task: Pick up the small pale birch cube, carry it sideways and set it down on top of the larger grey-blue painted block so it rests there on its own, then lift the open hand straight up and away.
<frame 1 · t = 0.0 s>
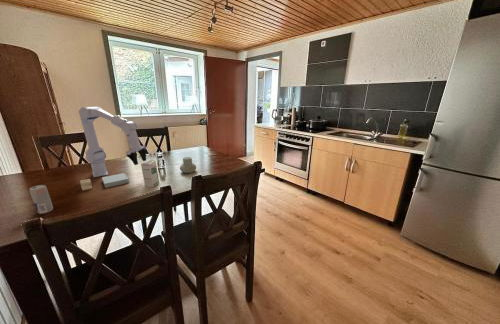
hand: (140, 162, 127), 11 cm above the table, tool pointing down, fingers open, 7 cm apart
birch cube: (87, 188, 116), on the table
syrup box: (152, 185, 121), on the table
grey-blue block: (116, 182, 125), on the table
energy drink: (45, 211, 93), on the table
air freshener: (188, 172, 142), on the table
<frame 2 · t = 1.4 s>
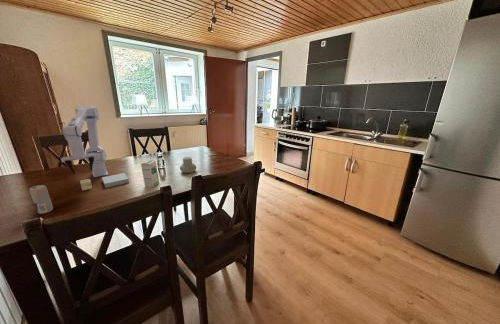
hand: (83, 171, 113), 10 cm above the table, tool pointing down, fingers open, 7 cm apart
nothing on the table moved.
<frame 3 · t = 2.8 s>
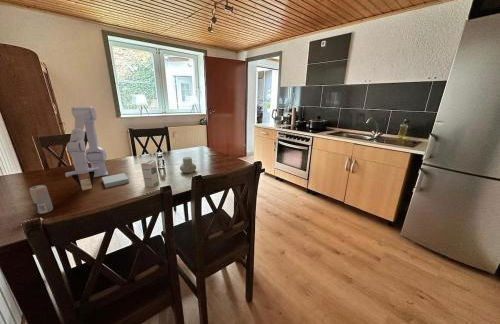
hand: (86, 185, 116), 2 cm above the table, tool pointing down, fingers closed on birch cube, 4 cm apart
birch cube: (87, 188, 116), on the table, touching gripper
everything else where it was.
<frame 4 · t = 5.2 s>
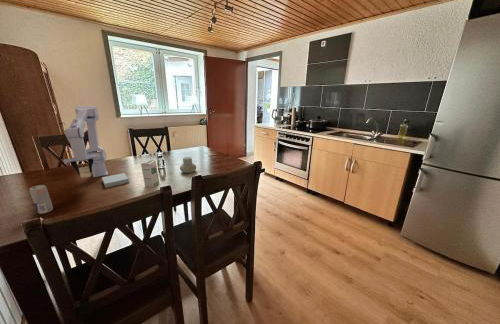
hand: (85, 173, 114), 9 cm above the table, tool pointing down, fingers closed on birch cube, 4 cm apart
birch cube: (85, 175, 114), point 7 cm above the table, touching gripper
everything else where it was.
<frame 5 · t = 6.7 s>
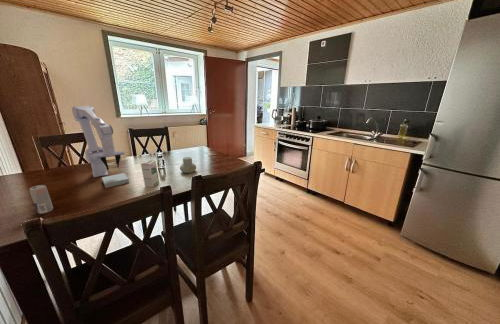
hand: (112, 168, 122), 9 cm above the table, tool pointing down, fingers closed on birch cube, 4 cm apart
birch cube: (113, 170, 122), point 7 cm above the table, touching gripper
everything else where it was.
when the fingers open (6 cm above the table, at t = 7.8 s): birch cube drops 2 cm, point 2 cm above the table.
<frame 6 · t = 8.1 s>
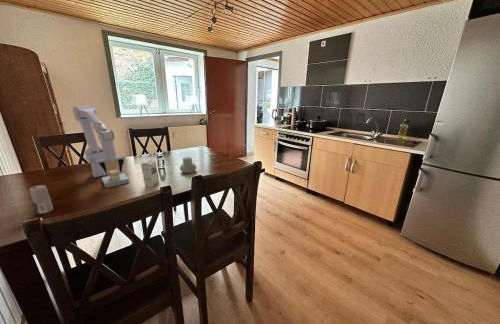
hand: (113, 172, 123), 6 cm above the table, tool pointing down, fingers open, 7 cm apart
birch cube: (115, 178, 124), point 2 cm above the table
everything else where it was.
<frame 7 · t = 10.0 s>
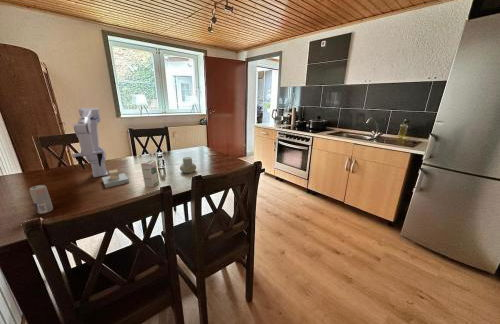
hand: (92, 167, 120), 10 cm above the table, tool pointing down, fingers open, 7 cm apart
nothing on the table moved.
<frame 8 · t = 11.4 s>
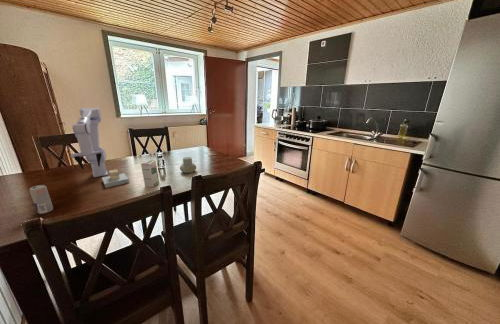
hand: (91, 167, 120), 10 cm above the table, tool pointing down, fingers open, 7 cm apart
birch cube: (114, 177, 124), point 2 cm above the table, touching grey-blue block
grey-blue block: (116, 182, 125), on the table, touching birch cube
everything else where it was.
at the end: birch cube inside the target area on the grey-blue block (0.5 cm from its centre), point 3.0 cm above the grey-blue block's base; birch cube tilted 0°; the gripper is holding nothing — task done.
